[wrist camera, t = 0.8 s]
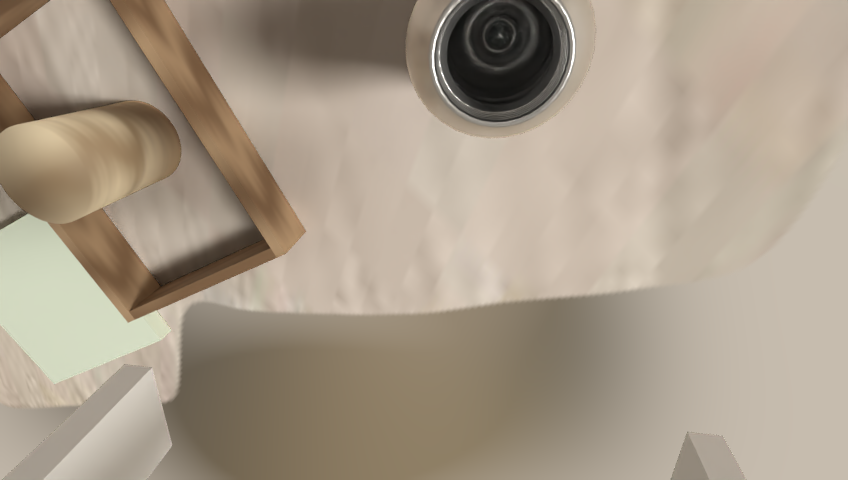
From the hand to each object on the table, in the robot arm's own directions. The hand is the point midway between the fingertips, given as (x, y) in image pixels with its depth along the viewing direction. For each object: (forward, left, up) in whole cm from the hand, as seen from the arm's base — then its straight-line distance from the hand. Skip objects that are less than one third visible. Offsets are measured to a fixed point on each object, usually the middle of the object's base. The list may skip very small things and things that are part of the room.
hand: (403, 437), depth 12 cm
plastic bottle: (-7, +6, -24) cm, 26 cm away
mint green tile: (-4, -37, -24) cm, 44 cm away
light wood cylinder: (-12, -21, -24) cm, 34 cm away
